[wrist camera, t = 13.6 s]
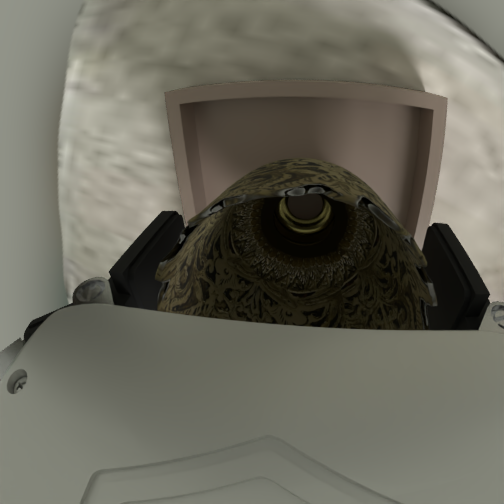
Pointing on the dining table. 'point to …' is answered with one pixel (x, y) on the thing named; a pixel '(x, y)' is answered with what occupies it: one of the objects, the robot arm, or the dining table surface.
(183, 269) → the cup
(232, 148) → the tray
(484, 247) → the dining table surface
